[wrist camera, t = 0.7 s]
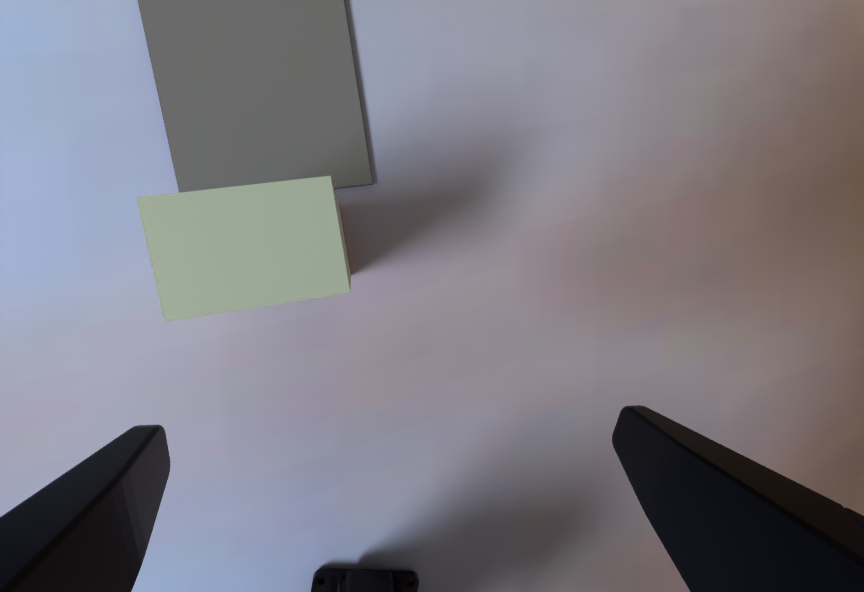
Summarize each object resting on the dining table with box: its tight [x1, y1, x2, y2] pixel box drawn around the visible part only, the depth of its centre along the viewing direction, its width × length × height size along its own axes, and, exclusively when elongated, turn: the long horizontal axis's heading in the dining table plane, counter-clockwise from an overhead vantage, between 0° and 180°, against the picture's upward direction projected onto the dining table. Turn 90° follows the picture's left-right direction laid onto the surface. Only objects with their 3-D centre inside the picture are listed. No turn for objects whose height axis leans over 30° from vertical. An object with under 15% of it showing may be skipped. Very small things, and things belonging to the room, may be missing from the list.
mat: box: [138, 0, 372, 193], centre depth 22 cm, size 12×10×1 cm
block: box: [136, 176, 351, 322], centre depth 19 cm, size 4×6×10 cm, turn 98°
